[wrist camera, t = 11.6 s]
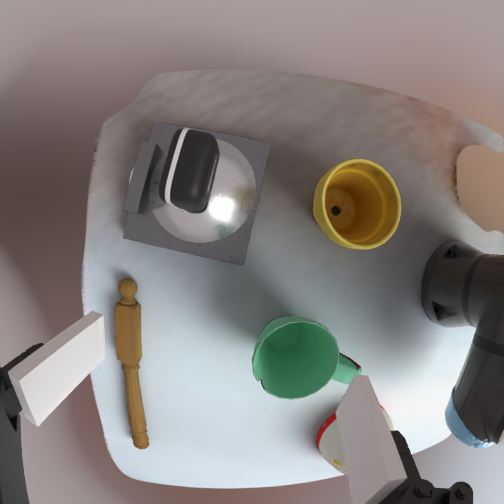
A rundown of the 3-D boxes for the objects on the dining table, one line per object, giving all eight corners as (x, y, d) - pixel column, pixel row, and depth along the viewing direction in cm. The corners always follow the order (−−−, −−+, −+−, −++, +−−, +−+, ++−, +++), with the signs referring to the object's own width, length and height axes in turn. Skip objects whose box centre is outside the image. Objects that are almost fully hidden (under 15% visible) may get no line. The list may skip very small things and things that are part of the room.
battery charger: (211, 219, 32) (199, 208, 21) (180, 213, 32) (153, 199, 21) (224, 163, 32) (221, 126, 21) (194, 157, 32) (176, 119, 20)
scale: (268, 150, 37) (273, 138, 32) (242, 263, 37) (244, 267, 32) (156, 129, 36) (147, 116, 31) (127, 237, 36) (113, 237, 31)
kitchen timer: (318, 410, 39) (348, 469, 24) (390, 392, 40) (435, 435, 25) (315, 462, 40) (336, 517, 25) (379, 445, 41) (412, 489, 26)
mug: (236, 352, 38) (238, 386, 28) (264, 290, 38) (274, 307, 28) (324, 379, 39) (347, 413, 29) (352, 323, 39) (384, 346, 29)
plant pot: (346, 260, 38) (379, 267, 29) (285, 223, 38) (304, 217, 28) (376, 200, 38) (413, 191, 29) (320, 161, 37) (346, 139, 28)
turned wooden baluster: (131, 448, 35) (113, 279, 34) (135, 438, 38) (122, 276, 37) (147, 451, 35) (134, 281, 34) (151, 441, 38) (141, 278, 37)
